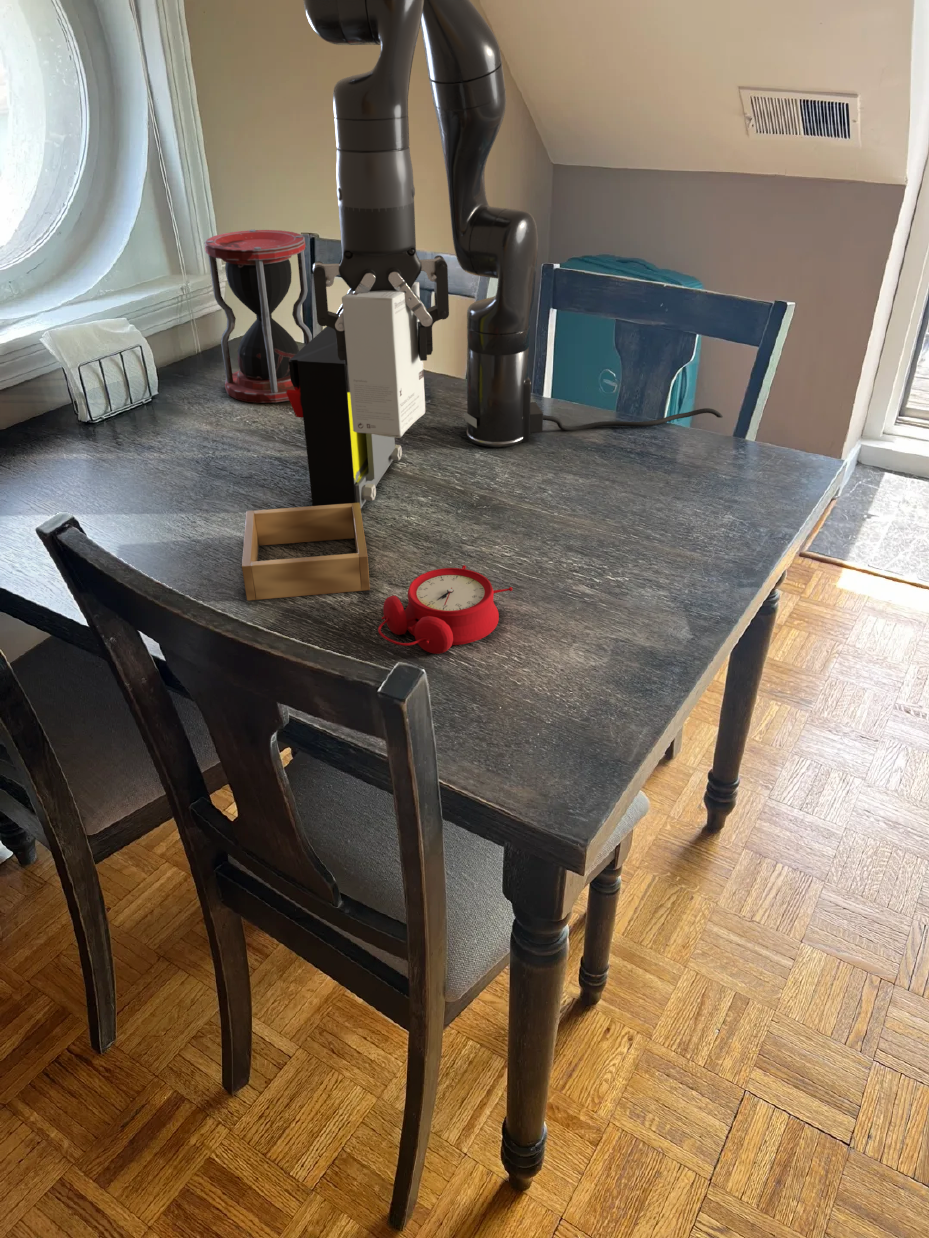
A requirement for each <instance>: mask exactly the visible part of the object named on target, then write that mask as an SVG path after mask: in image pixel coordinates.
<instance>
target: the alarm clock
mask: <svg viewBox="0 0 929 1238" xmlns="http://www.w3.org/2000/svg"><path fill="white" fill-rule="evenodd" d="M508 591H509V592H512V591H513V587H511V586H509V587H508V588H503V589H501V588H500V589H495V590H494V588H493V586H492V583H491V581H490V580H489V579H488V577H486V576H484V575H483V574H482V573H479V572H477V571H474V570H471V569H467V566H466V565H465V564H464V565H463V564H462V566H461V568H460V567H443V568H437V569H433V570H429V571H426V572H424V573H422V574H420V575H418V576H417V577H416V578H414V579H413V580H412V581H411V582H410V584H409V586H408V589H407V602H408V603H407V606H406V607H405V609H404V606H403V603H402V602H401V599H400V598H399V597H398V596H397V595H390V596H388V597H387V598H386V599H385V600H384V602H383V607H382V609H383V611H382V612H383V616H382V617H381V620H384V621H383V622H381V623H380V625H378V628H377V632H378V634H379V635H380V636H381V637H382V638H383V639H385V640H386V641H387V642H390V643H392V644H394V645H397V646H403V647H408V646H413V645H416V644H417V645H418V646H419V647H420V648H421V649H422V650H423V651H425V652H427V653H429V654H432V655H433V654H435V655H438V654H439V655H440V654H444V653H446V652H447V651H448V650H449V649H450V648H451V647H452V646H459V645H465V644H470V643H471V644H472V643H474V642H477V641H480V640H482V639H483V638H486V637H487V636H488V635H491V633H492V632H494V630H495V629H496V628H497V626H498V623H499V619H500V617H499V616H500V614H499V610H498V608H497V606H496V605H495V602H494V594H497V593H498V594H499V593H503V592H508ZM385 624H386V625H387V628H388V629H389V630H390V632H391V633H393V634H394V635H398V636H402V635H405V634H406V633H407V631H408V632H409V634H410V635H412V636H414V639H415V641H412V642H404V643H403V642H399V641H397V640H394V639H391V638H390V637H388V636H386V635H385V634H384V633H383V632H382V631H381V630H382V627H383V626H384V625H385Z"/></svg>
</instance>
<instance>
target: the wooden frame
mask: <svg viewBox="0 0 929 1238" xmlns="http://www.w3.org/2000/svg"><path fill="white" fill-rule="evenodd" d="M362 515H363V514H362V508H360V503H349V504H335V505H322V506H312V505H311V506H296V507H283V508H270V509H268V508H267V509H255V510H246V511H245V523H244V534H243V535H244V536H243V546H242V559H241V571H242V576H243V577H242V578H243V584H244V590H245V596H246V601H247V602H248V601H249V602H250V601H258V600H270V599H271V600H272V599H283V598H284V599H285V598H292V597H293V598H294V597H305V596H307V597H308V596H316V595H327V594H329V595H330V594H340V593H341V594H342V593H353V592H363V591H371V586H370V585H371V584H370V569H369V558H368V549H367V543H366V537H365V531H364V523H363V522H364V521H363V516H362ZM350 539H354V545H355V551H356V552H353V553H344V554H343V553H342V554H330V555H329V554H328V555H317V556H305V557H293V558H279V559H268V560H259V546H260V547H261V546H270V545H271V546H274V545H287V544H299V543H311V542H313V543H314V542H323V541H336V540H350Z"/></svg>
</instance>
